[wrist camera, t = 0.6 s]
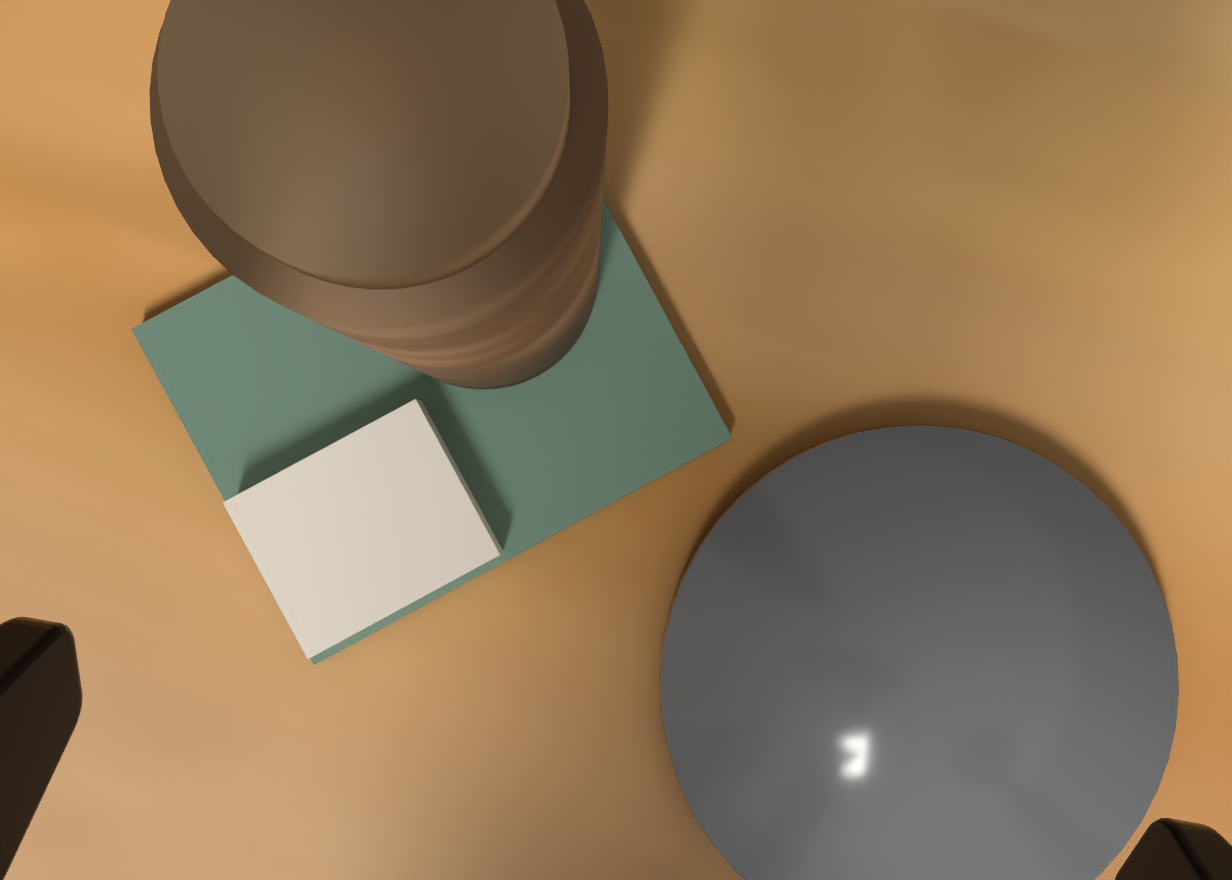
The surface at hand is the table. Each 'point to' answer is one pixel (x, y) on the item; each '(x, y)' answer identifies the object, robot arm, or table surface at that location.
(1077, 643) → the trivet
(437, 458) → the mat
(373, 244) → the pepper mill
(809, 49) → the table surface
